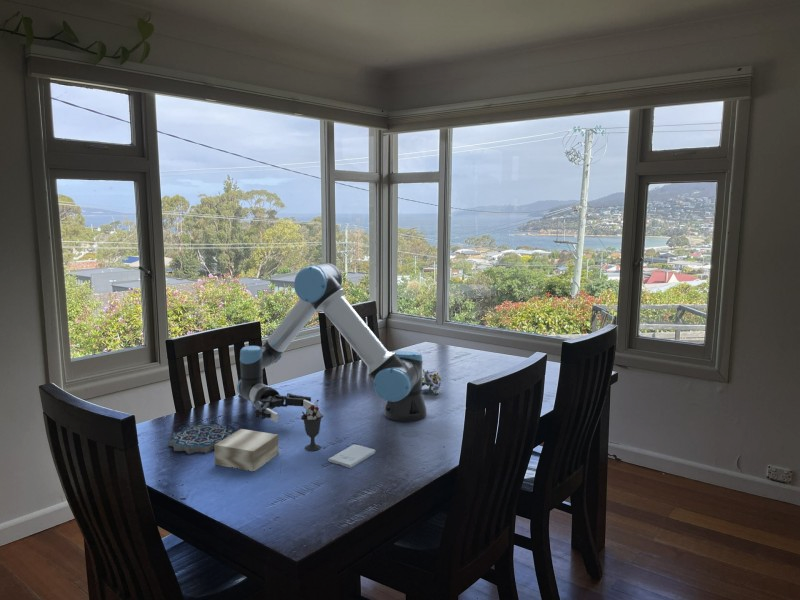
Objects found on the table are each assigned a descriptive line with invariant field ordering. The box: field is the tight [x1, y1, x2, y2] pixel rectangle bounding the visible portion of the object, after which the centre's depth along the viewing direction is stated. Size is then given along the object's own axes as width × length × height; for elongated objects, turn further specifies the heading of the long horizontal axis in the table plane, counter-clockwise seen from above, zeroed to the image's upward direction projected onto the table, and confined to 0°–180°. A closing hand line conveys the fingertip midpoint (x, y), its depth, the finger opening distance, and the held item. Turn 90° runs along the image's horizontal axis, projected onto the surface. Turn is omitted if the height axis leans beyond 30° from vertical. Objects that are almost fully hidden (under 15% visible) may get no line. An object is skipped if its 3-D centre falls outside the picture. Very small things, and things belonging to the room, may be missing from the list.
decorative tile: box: [168, 422, 238, 455], centre depth 183 cm, size 20×20×2 cm
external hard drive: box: [327, 444, 376, 469], centre depth 172 cm, size 2×8×12 cm
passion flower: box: [422, 368, 442, 396], centre depth 233 cm, size 11×11×12 cm
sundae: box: [300, 399, 324, 452], centre depth 177 cm, size 7×7×15 cm
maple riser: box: [214, 428, 280, 472], centre depth 169 cm, size 13×13×6 cm
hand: (296, 413), depth 184 cm, fingers open, 13 cm apart
